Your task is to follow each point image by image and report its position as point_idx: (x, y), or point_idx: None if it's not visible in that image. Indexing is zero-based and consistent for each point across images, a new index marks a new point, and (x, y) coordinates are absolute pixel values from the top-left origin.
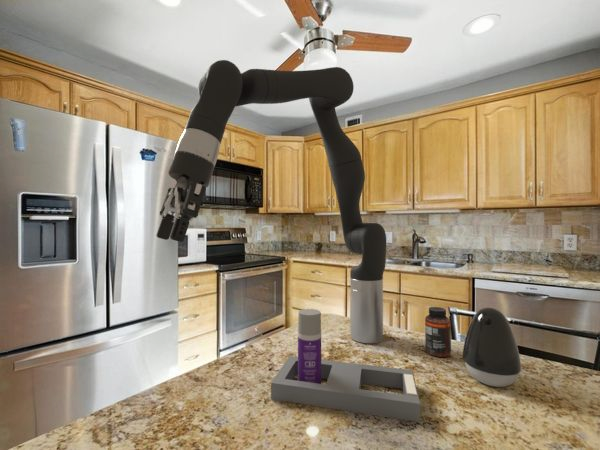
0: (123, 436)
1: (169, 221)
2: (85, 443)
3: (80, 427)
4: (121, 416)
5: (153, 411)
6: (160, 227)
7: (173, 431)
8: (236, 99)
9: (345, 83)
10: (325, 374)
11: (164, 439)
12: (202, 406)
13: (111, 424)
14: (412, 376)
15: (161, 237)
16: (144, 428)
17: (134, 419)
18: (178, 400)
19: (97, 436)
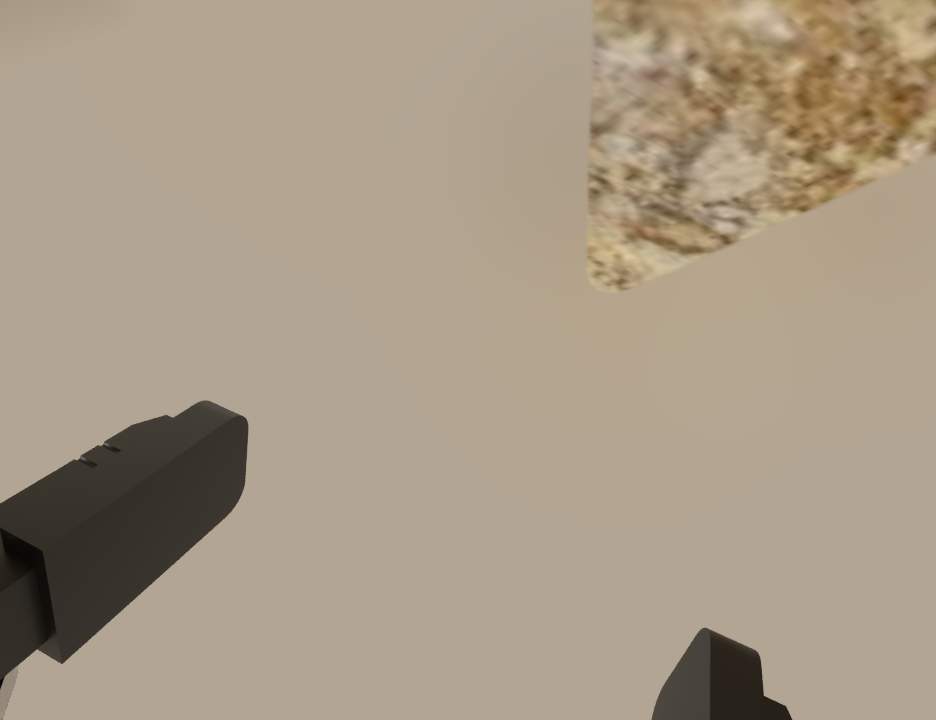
0: (737, 212)
1: (59, 592)
2: (675, 266)
3: (600, 245)
4: (642, 172)
5: (707, 104)
6: (164, 571)
7: (870, 125)
8: None
9: None
10: None
11: (871, 161)
12: None
13: (655, 203)
14: None
15: (237, 471)
16: (761, 165)
17: (691, 159)
18: (731, 7)
19: (674, 242)
